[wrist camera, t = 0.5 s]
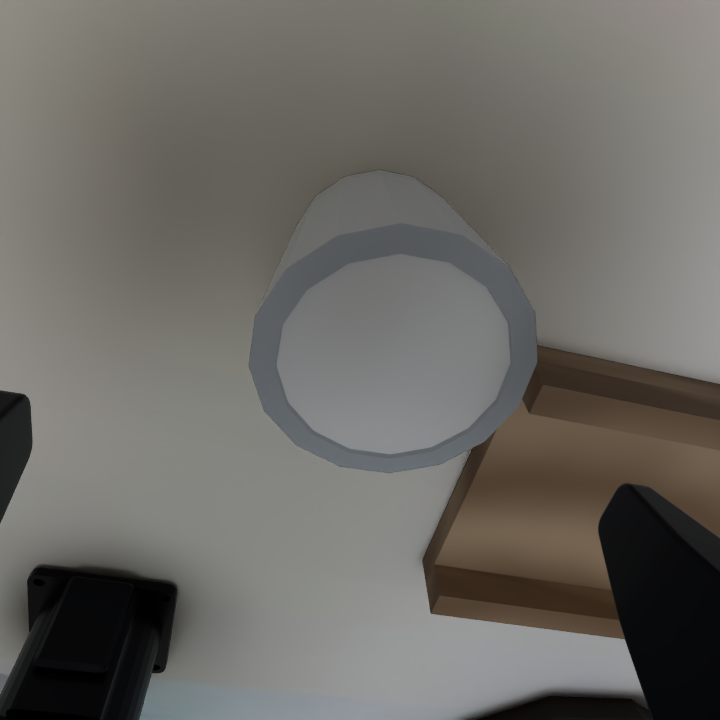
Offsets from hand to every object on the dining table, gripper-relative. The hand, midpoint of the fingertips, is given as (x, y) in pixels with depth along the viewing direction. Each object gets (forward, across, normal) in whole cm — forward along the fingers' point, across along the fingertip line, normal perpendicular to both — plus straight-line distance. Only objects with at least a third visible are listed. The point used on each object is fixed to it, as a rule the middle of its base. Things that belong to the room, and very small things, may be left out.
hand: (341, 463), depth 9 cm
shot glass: (+12, -2, +1) cm, 12 cm away
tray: (+12, -15, +9) cm, 22 cm away
